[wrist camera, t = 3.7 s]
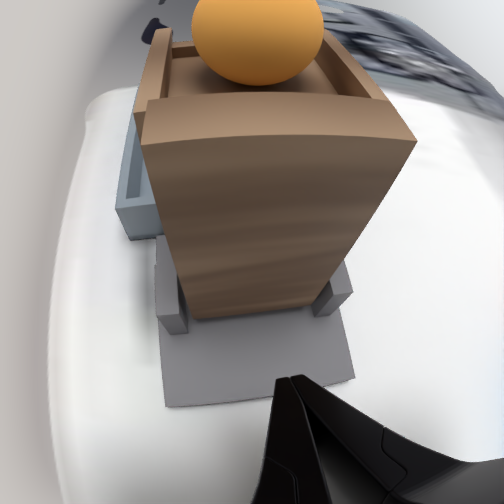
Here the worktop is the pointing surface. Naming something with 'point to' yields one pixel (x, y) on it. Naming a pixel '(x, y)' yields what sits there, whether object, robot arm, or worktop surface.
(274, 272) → the brown wooden angled piece
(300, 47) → the ball
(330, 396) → the robot arm
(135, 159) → the bin
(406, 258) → the worktop surface
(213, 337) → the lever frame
